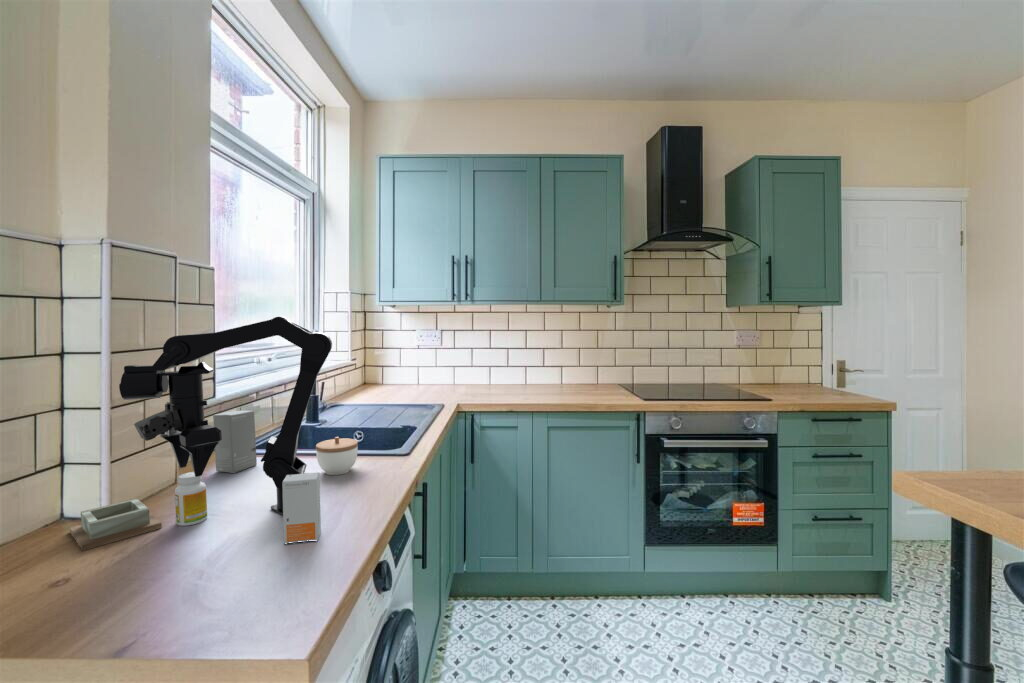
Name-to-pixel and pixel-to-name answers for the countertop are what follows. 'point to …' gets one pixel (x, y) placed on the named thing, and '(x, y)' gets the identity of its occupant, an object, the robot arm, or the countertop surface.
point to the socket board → (113, 523)
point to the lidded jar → (337, 455)
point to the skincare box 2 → (301, 507)
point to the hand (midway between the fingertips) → (190, 471)
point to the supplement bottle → (190, 500)
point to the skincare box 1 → (235, 441)
